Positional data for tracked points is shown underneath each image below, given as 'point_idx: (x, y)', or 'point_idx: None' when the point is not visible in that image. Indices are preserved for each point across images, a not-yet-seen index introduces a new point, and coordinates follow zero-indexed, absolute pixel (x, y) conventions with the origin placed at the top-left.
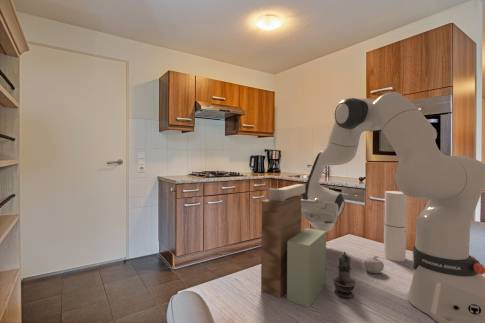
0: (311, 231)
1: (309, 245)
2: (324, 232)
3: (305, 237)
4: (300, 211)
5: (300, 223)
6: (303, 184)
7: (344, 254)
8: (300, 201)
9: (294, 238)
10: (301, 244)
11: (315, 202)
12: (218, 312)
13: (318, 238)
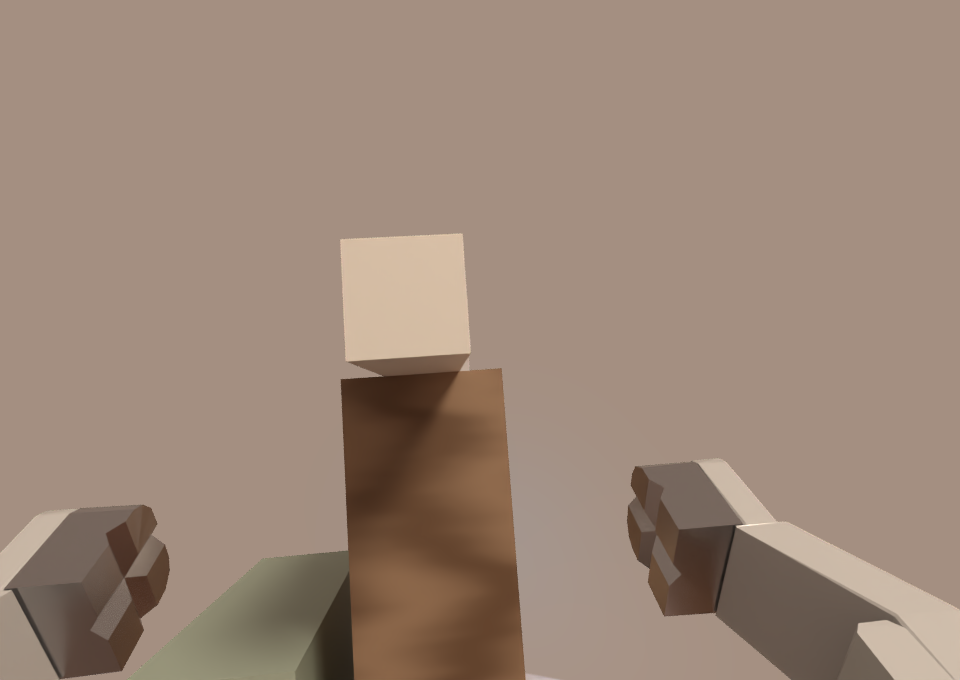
0: (252, 641)
1: (261, 560)
2: (141, 668)
3: (287, 585)
4: (349, 511)
5: (353, 620)
6: (367, 242)
7: None
8: (346, 424)
9: (339, 566)
10: (296, 557)
11: (159, 569)
12: (529, 677)
13: (210, 609)
